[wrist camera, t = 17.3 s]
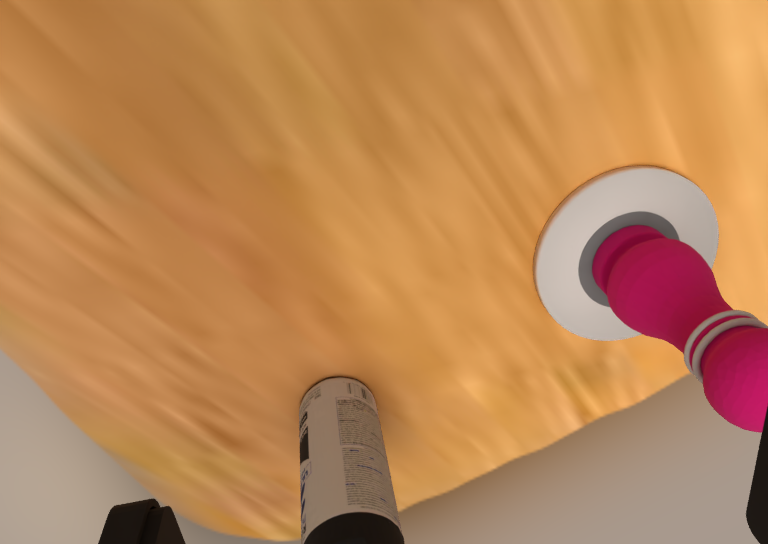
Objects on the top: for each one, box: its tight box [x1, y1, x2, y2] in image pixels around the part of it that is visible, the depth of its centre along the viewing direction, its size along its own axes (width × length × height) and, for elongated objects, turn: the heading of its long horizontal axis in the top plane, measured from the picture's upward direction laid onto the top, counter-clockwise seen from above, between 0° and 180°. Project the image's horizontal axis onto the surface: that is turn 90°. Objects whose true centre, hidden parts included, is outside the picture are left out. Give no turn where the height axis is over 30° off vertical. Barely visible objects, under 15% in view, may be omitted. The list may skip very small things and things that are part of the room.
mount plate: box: [533, 165, 719, 341], centre depth 50 cm, size 15×15×1 cm
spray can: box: [299, 377, 404, 544], centre depth 44 cm, size 7×7×20 cm
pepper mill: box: [592, 225, 768, 432], centre depth 40 cm, size 7×7×20 cm
